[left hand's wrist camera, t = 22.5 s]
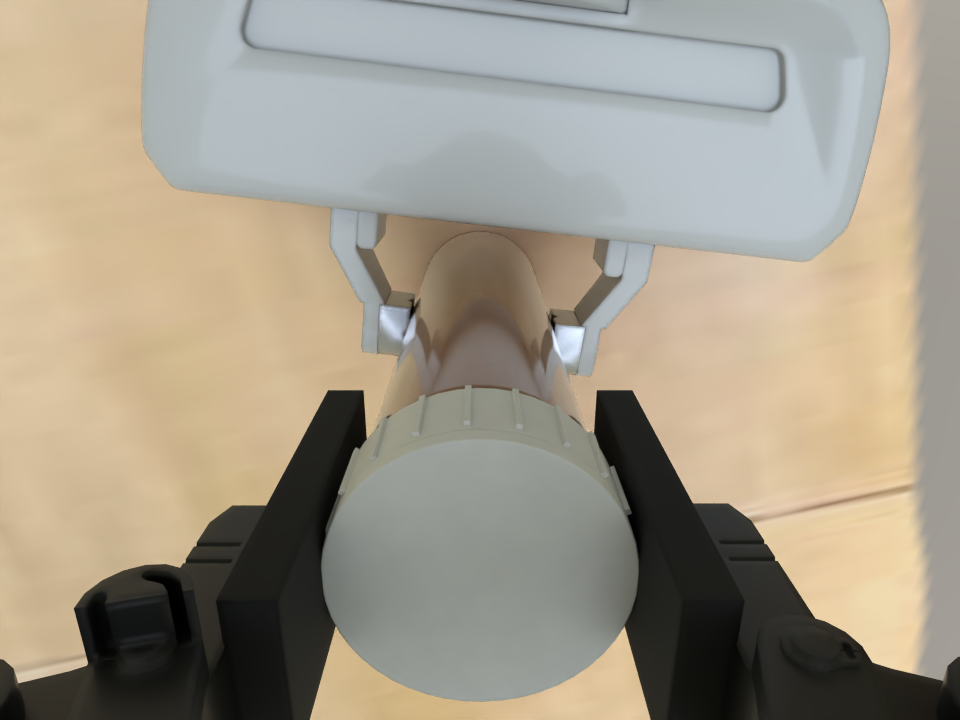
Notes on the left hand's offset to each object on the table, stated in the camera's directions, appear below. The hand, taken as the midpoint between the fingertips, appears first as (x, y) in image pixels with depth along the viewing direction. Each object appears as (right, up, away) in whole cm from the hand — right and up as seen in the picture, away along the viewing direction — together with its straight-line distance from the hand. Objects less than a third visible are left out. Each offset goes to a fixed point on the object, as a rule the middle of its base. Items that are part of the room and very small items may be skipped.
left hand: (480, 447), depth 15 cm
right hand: (0, +2, +8) cm, 8 cm away
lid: (0, -1, -4) cm, 4 cm away
